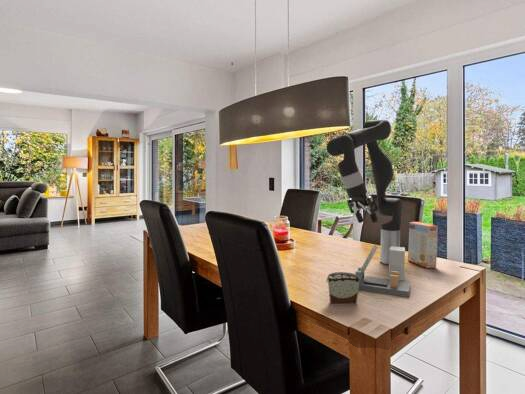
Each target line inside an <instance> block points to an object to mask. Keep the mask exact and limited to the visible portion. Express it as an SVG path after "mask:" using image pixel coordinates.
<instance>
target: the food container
mask: <svg viewBox="0 0 525 394" xmlns="http://www.w3.org/2000/svg"><path fill="white" fill-rule="evenodd" d="M359 282H361V278H360V276H358V275H356V273H351V272H344V271H343V272H342V271H340V272H339V271H337V272H331V273H329V274H328V275H327V277H326V283H328V285H327V286H328V294H329V302H330V303H329V304H330V306H335V305H339V306H341V305H342V306H343V305H357V304H358V297H359Z"/></svg>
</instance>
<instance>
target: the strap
mask: <svg viewBox="0 0 525 394" xmlns="http://www.w3.org/2000/svg"><path fill="white" fill-rule="evenodd" d="M378 247H379V246H378V245H376V244H374V245H373V246H372V248H371V250H370V252H369V253H368V255H367V257H366V259H365V261H364V263H363V264H362V266H361V267H362V268H361V270H360V271H362V276H363V273H364V274H365V271H366V270H367V267H368V266H369V264H370V262H371V260H372V258H373V257H374V255H375V253H376V251H377V249H378Z"/></svg>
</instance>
